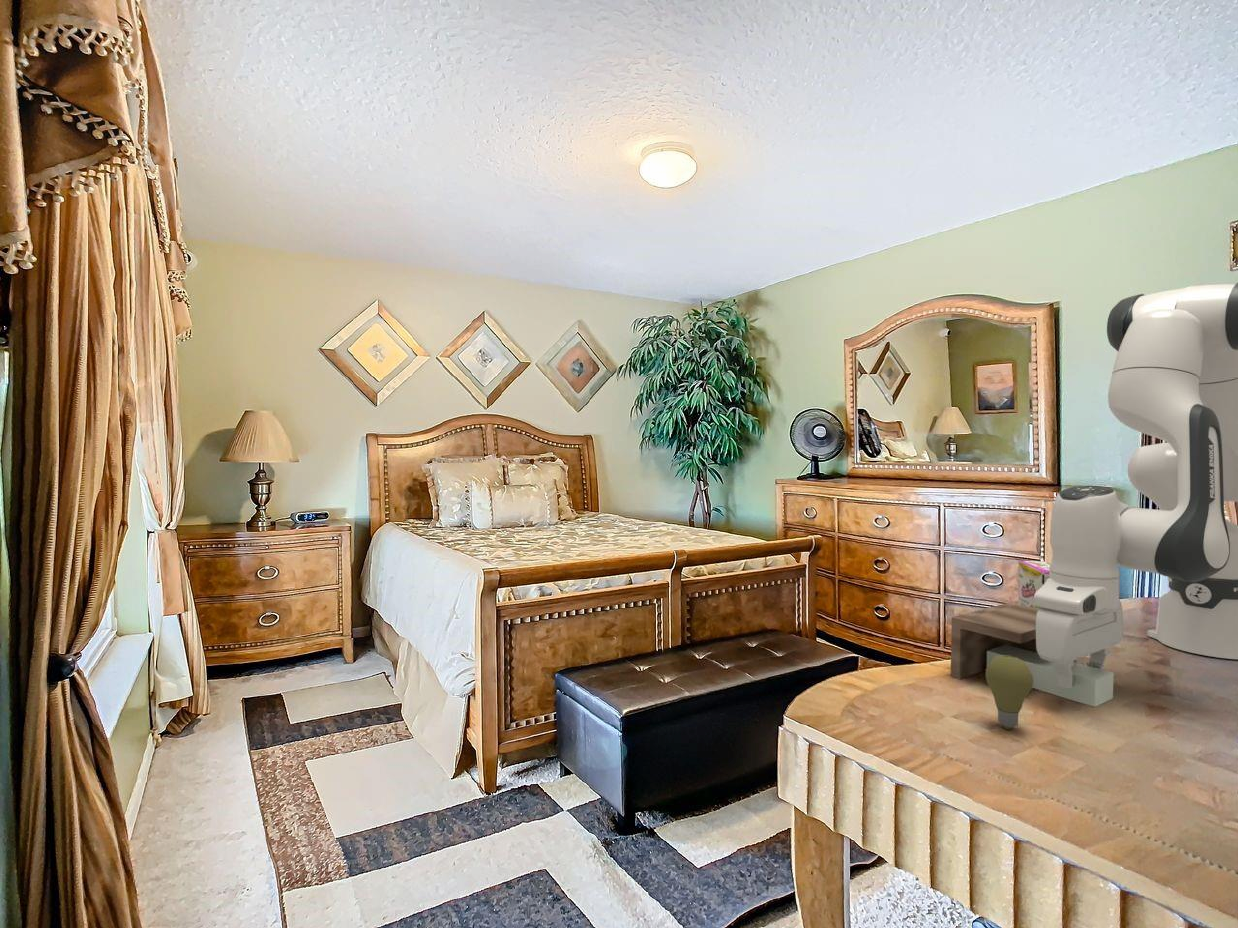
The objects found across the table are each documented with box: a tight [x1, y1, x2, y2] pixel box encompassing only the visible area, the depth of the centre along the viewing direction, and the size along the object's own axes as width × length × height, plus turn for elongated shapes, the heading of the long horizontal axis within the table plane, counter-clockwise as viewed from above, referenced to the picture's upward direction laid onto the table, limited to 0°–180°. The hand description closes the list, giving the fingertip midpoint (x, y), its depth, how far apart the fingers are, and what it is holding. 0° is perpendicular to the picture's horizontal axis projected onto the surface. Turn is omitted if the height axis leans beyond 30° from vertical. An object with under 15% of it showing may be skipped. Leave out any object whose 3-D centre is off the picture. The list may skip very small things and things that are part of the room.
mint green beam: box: [987, 645, 1115, 708], centre depth 105 cm, size 6×16×4 cm, turn 32°
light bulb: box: [985, 655, 1033, 730], centre depth 90 cm, size 6×6×10 cm
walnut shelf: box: [950, 602, 1077, 680], centre depth 109 cm, size 18×11×10 cm, turn 122°
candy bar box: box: [1017, 560, 1051, 609], centre depth 120 cm, size 11×5×16 cm, turn 168°
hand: (1080, 680), depth 101 cm, fingers open, 8 cm apart
